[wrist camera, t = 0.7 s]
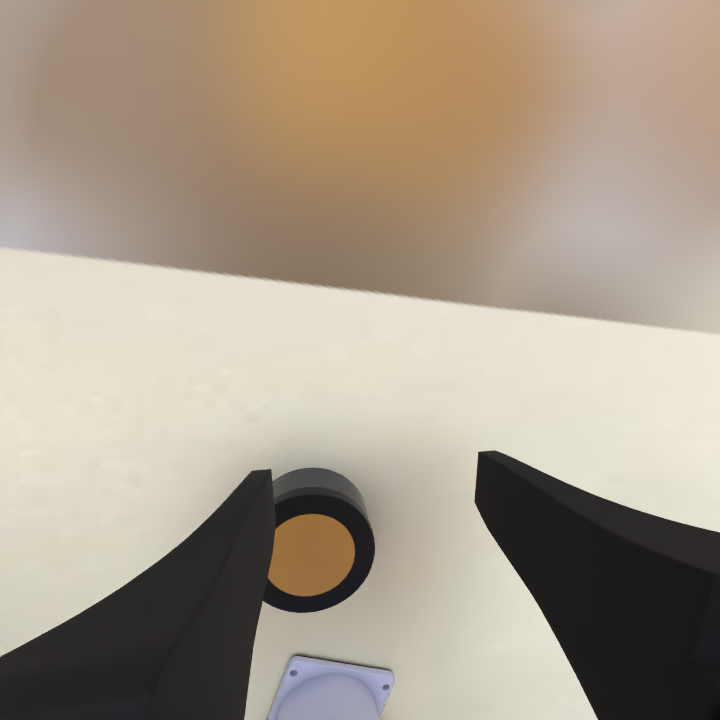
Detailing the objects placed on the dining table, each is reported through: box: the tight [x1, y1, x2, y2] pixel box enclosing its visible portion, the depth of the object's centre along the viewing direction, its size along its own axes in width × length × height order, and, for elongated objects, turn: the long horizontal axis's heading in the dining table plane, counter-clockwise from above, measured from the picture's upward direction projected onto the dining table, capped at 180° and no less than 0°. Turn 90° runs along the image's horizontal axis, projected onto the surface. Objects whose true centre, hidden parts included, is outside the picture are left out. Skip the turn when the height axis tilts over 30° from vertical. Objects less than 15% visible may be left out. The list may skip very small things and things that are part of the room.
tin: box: [263, 468, 375, 613], centre depth 21 cm, size 8×8×3 cm
